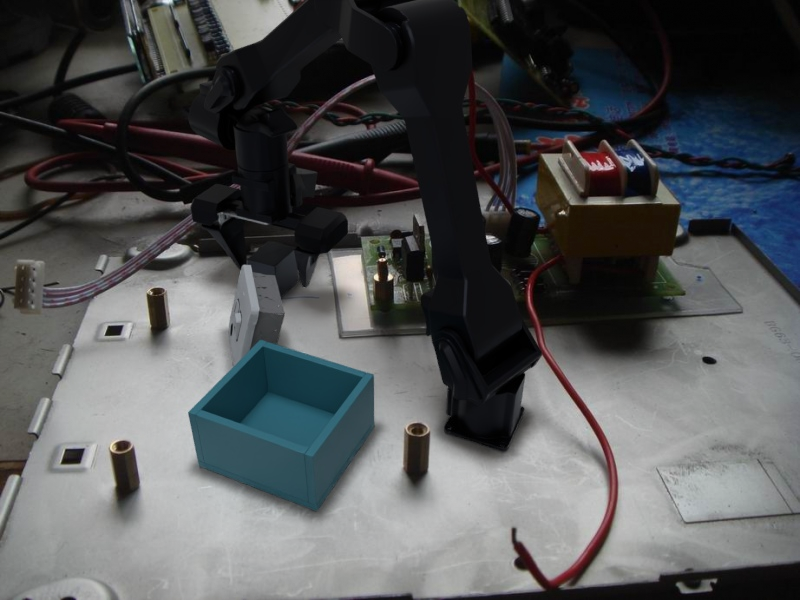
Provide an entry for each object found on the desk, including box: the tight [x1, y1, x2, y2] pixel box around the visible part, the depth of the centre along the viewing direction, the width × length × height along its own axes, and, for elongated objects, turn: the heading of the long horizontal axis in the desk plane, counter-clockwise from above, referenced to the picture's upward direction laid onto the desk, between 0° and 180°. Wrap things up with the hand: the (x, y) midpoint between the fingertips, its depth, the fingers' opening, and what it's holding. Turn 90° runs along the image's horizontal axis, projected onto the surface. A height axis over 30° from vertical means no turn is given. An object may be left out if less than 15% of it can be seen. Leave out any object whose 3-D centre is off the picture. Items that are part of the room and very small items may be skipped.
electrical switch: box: [227, 265, 285, 368], centre depth 81 cm, size 9×5×9 cm, turn 15°
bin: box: [187, 340, 375, 512], centre depth 70 cm, size 13×12×7 cm
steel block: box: [247, 240, 300, 298], centre depth 93 cm, size 4×5×5 cm
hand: (274, 277), depth 94 cm, fingers open, 9 cm apart
